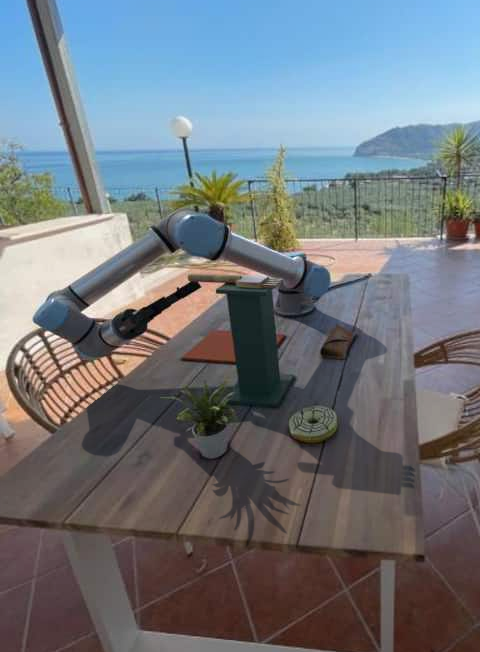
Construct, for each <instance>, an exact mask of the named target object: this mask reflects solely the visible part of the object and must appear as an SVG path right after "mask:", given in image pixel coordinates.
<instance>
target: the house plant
mask: <svg viewBox="0 0 480 652" xmlns="http://www.w3.org/2000/svg"><path fill="white" fill-rule="evenodd" d="M231 376H232V375H229V376H228V377H226V378H225V379H223V381H222V382H221V383H220V385H219V387H218V388H217V389H215V391H213V393H211V392H210V387H209V385H208V380H205V379H203V384H204V386H203V396H202V395H200V396H198V397H196V396H195V394H194V392H192V391H191V390H189V389H187V388H183V390H182V389H180V392H181V394H183V395H185V396H186V398H187V399H188V400H189V401H190V402H192V403H193V404H194V407H192V406H190V404H188V403H186V402H185V401H184V400H182V399H181V398H178V397H176V396H162V397H161V399H173V400H175V401H178V402H181V403H182V404H183V405H185V406H187V407H188V408H185V409H184V410H182V411H180V412H179V413H178V414H177V416H176V420H178V421H186V420H190V421H193V422H195V423H194V424H193V426H190V427H189V428H187V429H186V432H188V431H189V430H191V431H192V434H193V437H194V439H195V441H196V445H197V446H198V449H199V451H200V453H201V455H202V457H203V458H205V459H216V458H219V457H221V456H222V455H225V453H226V452H227V450H228V440H229V428H230V427H231V426H230V421H229V419H228V418H230V419H232V420H235V421H236V422H237V423H238V417H237V415H236V414H237V412H236V411H235V410H234V409H233V408H232V407H231V406H228V405H227V404H228V403H227V402H228V400H229V399H226V398H227V397H228V396H230V395H232V394H234V393H237V392H233V393H230V394H228V393H227V395H225V396H224V397H223V398H222V400H220V399H221V397H222V395H223V393H224V391H225V389H226V385H227V382H228V381H229V380H230V378H231ZM212 398H213V401H212V402H211V399H212ZM230 399H232V398H230ZM211 403H212V405H211ZM226 405H227V406H226ZM190 409H191V410H192V411H193V412H195V413H196V414H197V415H198V416H197V415H195V414H194V413H192V412H191V411H188V410H190ZM227 410H230V411H232V412H230V411H229V412H226V411H227Z"/></svg>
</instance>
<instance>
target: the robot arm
mask: <svg viewBox="0 0 480 652" xmlns="http://www.w3.org/2000/svg"><path fill="white" fill-rule="evenodd" d="M179 250H182V251H183V252H185V253H186V254H187V255H190V256H192V257H199V258H204V259H205V260H209V261H211V262H217V261H218V260H224V261H227V262H230V263H232V264H235V265H237V266H240V267H243V268H245V269H248V270H251V271H253V272H256V273H259V274H260V275H267V276H269V278H275V279H283V283H281V285H279V286H277V296H276V301H275V304H274V313H276V314H277V315H279V316H282V317H287V318H296V317H302V316H303V317H304V316H306V315H308V314H309V315H310V313H312V312H313V311H314V309H315V308H314V307H315V306H314V302H313V301H314V300H317V299H318V298H321V297H322V296H323V295H325V294H326V293H327V291H329V290H332V289H334V288H337V287H341V286H345V285H348V284H352V283H356V282H358V281H361V280H364V279H365V278H363V279H362V277H360V278H361V279H359V278H357V279H353V280H354V281H353V280H349V281H346V282H343V283H338V284H335V285H332V286H331V273H330V271H329V269H328V268H327V267H325V266H324V265H322V264H317V263H315V262H313V261H311V260H308V259H307V258H308V257H307V254H306V252H302V251H295V252H287V253H281V252H279V251H276V250H274V249H272V248H269V247H267V246H265V245H262V244H260V243H257V242H255V241H254V240H250V239H248V238H246V237H243V236H241V235H239V234H236V233H234V232H232V231H231V229H230V226H229V225H228V224H226V223H224V222H221V221H218V220H216V219H214V218H212V216H210V215H208V214H205V213H202V212H197V211H195V210H192V209H188V208H181V209H177V210H175V211H172V212H171V213H169V214H168V215H166V216H165V217H163V218H162V219H160V220H159V221H158V222H156V223H155V224H153V225H152V226H150V227H149V228H148V232H147V233H146V234H145V235H143V236H142V237H140V238H138V239H137V240H136V241H134V242H132V243H131V244H129V245H128V246H126V247H125V248H123V249H122V250H120V251H119V252H117V253H116V254H114V255H113V256H111V257H110V258H108V259H107V260H105V261H104V262H102V263H101V264H99V265H97V266H96V267H94V268H93V269H91V270H90V271H89V272H87V273H85V274H84V275H82V276H81V277H79V278H78V279H76V280H75V281H73V282H72V283H70V284H69V285H67V286H65V287H64V288H62V289H57V290H53V291H52V292H51V293H50V294H48V296H47V297H46V300H45V301H44V302H43V304H42V305H40V306H39V307H38V309H37V310H36V311H35V313H34V314H33V315H32V319H31V320H32V322H33V324H35V325H37V326H39V327H40V328H41V329H43V330H44V331H46V332H50V333H51V334H53V335H55V336H57V337H59V338H61V339H63V340H65V341H67V342H69V343H71V344H73V345H74V350H75V353H76V354H77V355H78V356H79V358H81V359H82V360H85V361H89V362H90V361H91V362H93V361H97V360H99V359H101V358H105V357H107V356H109V354H111V353H112V352H114V351H116V350H117V349H119V348H121V347H122V346H124V345H126V346H129V345H130V344H131V341H133V340H134V339H137V338H138V337H140V336H141V335H144V334H145V333H146V331H147V329H148V324H149V323H151V321H154V319H155V318H156V317H157V316H159V315H161V314H162V313H163V312H164V311H165V310H168V309H169V308H171V307H172V305H173V304H175V303H177V302H179V301H181V300H182V299H183V300H184V299H185V298H186V297H189V296H190V295H191V294H193V293H194V292H197V291H198V290H200V289H201V288H202V285H201V284H200V282H190V281H188V283H185V284H184V285H182V286H181V287H179V286H177V287H175V288H176V290H175V291H174V292H172V293H171V294H169V295H167V296H166V297H165V296H161V297H160V298H159V299H157V300H155V301H153V302H151V303H150V304H149V305H147V306H143V307H141V308H139V309H136V308H126V309H124V310H122V311H121V312H119V313H117V314H116V315H114V316H112V317H110V318H109V319H108V320H105V321H104V322H103V323H99V322H97V320H94V319H93V318H91V317H89V316H87V315H86V314H84V313H83V311H84V310H86V309H88V308H89V307H90V306H92V305H93V304H94V303H96V302H98V301H99V300H101V299H102V298H103V297H105V296H106V295H108V294H109V293H111V292H112V291H114V290H115V289H117V288H118V287H119V286H121V285H122V284H124V283H125V282H127V281H129V280H130V279H132V278H133V277H134V276H135V275H137V274H138V273H140V272H142V271H143V270H145V269H146V268H147V267H149V266H151V265H152V264H153V263H155V262H157V260H159V259H161V258H162V257H163V256H165V255H172V254H175V252H177V251H179ZM367 275H369V276H371V275H372V272H369V273H367ZM369 276H366V275H365V276H363V277H366V278H368V277H369Z"/></svg>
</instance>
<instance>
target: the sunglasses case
mask: <svg viewBox="0 0 480 652" xmlns="http://www.w3.org/2000/svg"><path fill="white" fill-rule="evenodd" d="M357 336H358V333H356V332H354V331H352V330H350V329H347V328H345V327H344V326H341V325H339V323H338V324H336V325H335V327H334V328H332V331H331V332H330V333H329V334H328V336H327V338H326V339H325V341H324V343H323V345H322V346H321V348H320V350H319V353H320V356H321V357H322V358H326V359H334V360H335V359H336V360H337V359H338V360H343V359H346V358H347V356H348V352H349V349H350V347H351V346H352V344H353V342H354V341H355V339H356V338H357Z"/></svg>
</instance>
